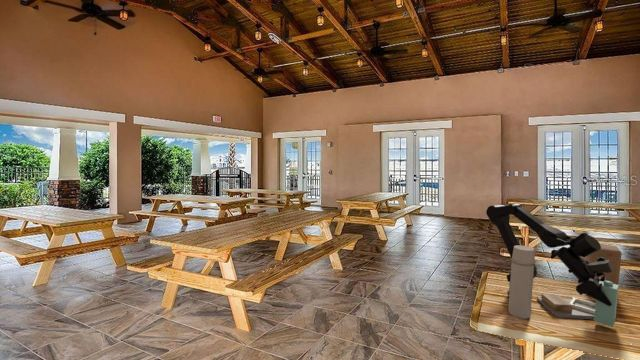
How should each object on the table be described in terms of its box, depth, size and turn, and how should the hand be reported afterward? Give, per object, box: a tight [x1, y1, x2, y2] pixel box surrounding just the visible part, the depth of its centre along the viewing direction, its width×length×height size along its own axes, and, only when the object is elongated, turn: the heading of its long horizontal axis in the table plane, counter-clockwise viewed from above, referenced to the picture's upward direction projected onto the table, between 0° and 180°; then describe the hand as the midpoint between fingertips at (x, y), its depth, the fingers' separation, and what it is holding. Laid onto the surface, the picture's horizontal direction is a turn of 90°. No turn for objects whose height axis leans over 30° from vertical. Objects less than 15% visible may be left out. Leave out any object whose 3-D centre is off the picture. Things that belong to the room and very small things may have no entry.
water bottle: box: [507, 244, 537, 320], centre depth 125 cm, size 9×8×25 cm
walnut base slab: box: [541, 293, 572, 312], centre depth 130 cm, size 6×9×2 cm, turn 174°
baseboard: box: [536, 296, 617, 322], centre depth 129 cm, size 20×14×2 cm
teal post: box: [593, 281, 620, 328], centre depth 116 cm, size 5×5×14 cm
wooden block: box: [585, 243, 623, 285], centre depth 144 cm, size 10×10×20 cm
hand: (611, 303), depth 115 cm, fingers closed on teal post, 5 cm apart
